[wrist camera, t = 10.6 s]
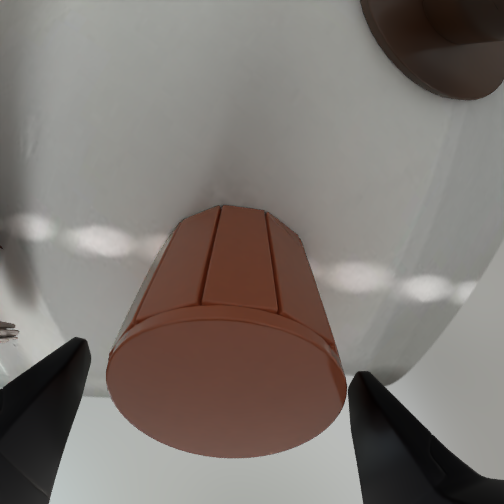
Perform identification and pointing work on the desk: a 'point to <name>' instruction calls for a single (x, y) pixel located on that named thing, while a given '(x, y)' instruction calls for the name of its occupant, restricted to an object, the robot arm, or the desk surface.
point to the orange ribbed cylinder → (228, 341)
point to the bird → (7, 331)
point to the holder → (442, 43)
